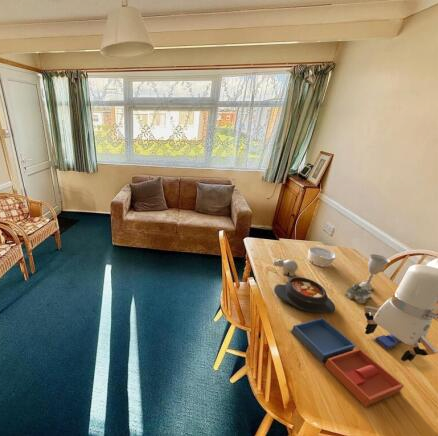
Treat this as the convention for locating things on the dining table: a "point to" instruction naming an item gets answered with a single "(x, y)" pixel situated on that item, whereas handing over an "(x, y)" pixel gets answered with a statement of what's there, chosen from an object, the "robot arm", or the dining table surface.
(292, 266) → the chubby cartoon animal
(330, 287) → the dining table surface
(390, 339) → the blue spoon
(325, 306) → the casserole
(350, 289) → the grey rock
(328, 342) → the blue bin
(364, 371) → the red spoon
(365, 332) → the robot arm
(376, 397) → the red bin
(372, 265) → the chalice
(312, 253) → the ramekin
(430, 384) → the dining table surface
